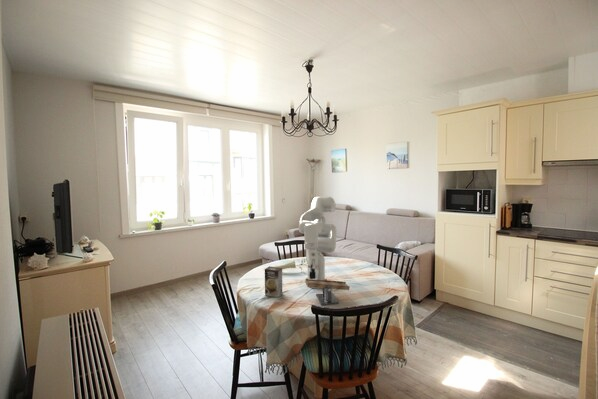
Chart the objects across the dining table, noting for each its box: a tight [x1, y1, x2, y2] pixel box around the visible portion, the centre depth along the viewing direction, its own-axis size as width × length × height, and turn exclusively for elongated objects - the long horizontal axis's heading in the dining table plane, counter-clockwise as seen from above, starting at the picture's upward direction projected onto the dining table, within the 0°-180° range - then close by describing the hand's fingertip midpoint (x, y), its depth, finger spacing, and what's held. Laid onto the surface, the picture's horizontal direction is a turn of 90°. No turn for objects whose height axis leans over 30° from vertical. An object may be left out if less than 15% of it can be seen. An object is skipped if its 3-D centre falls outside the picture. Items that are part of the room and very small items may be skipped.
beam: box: [304, 279, 350, 291], centre depth 163 cm, size 24×8×2 cm, turn 99°
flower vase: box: [270, 258, 306, 273], centre depth 210 cm, size 12×12×35 cm
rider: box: [307, 267, 319, 280], centre depth 161 cm, size 5×4×6 cm
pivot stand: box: [315, 278, 340, 306], centre depth 163 cm, size 10×13×10 cm
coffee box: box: [264, 266, 283, 298], centre depth 171 cm, size 9×6×16 cm
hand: (311, 276), depth 161 cm, fingers closed on rider, 4 cm apart
